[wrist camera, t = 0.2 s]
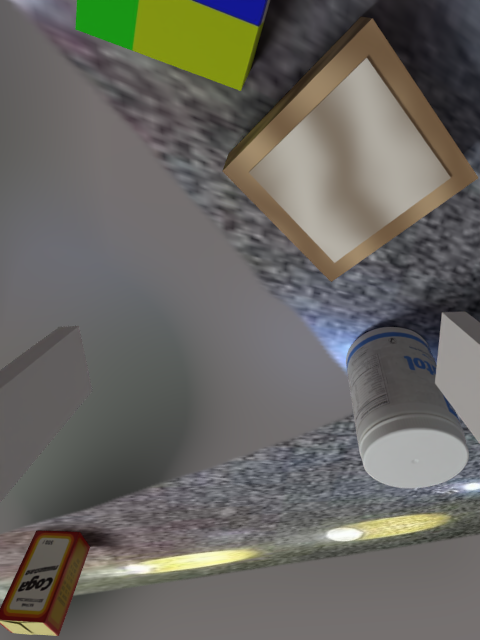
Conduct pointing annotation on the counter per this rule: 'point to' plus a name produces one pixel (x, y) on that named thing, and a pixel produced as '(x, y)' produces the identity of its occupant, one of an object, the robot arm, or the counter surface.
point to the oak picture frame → (349, 154)
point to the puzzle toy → (182, 32)
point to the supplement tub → (402, 411)
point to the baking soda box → (44, 583)
